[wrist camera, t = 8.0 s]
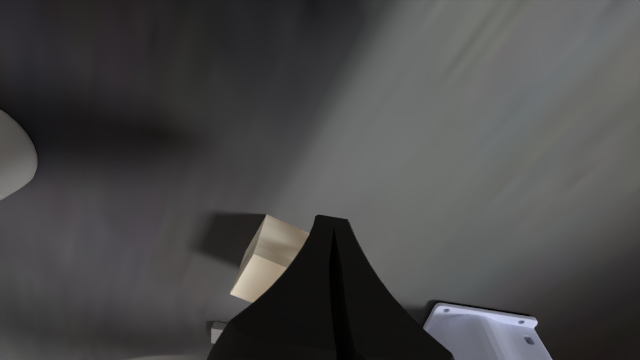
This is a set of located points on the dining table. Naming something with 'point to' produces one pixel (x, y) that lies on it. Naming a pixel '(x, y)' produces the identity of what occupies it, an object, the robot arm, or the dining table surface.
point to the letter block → (267, 257)
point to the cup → (15, 156)
